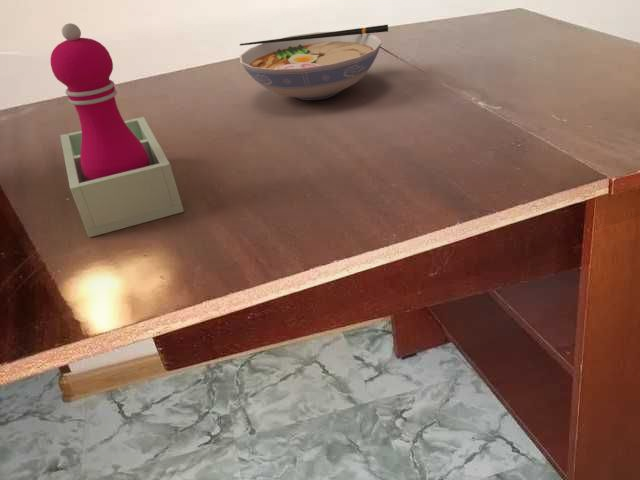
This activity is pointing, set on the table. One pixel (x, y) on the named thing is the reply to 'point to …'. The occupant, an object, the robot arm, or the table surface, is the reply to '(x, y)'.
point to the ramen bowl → (313, 61)
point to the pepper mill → (96, 106)
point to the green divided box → (122, 186)
